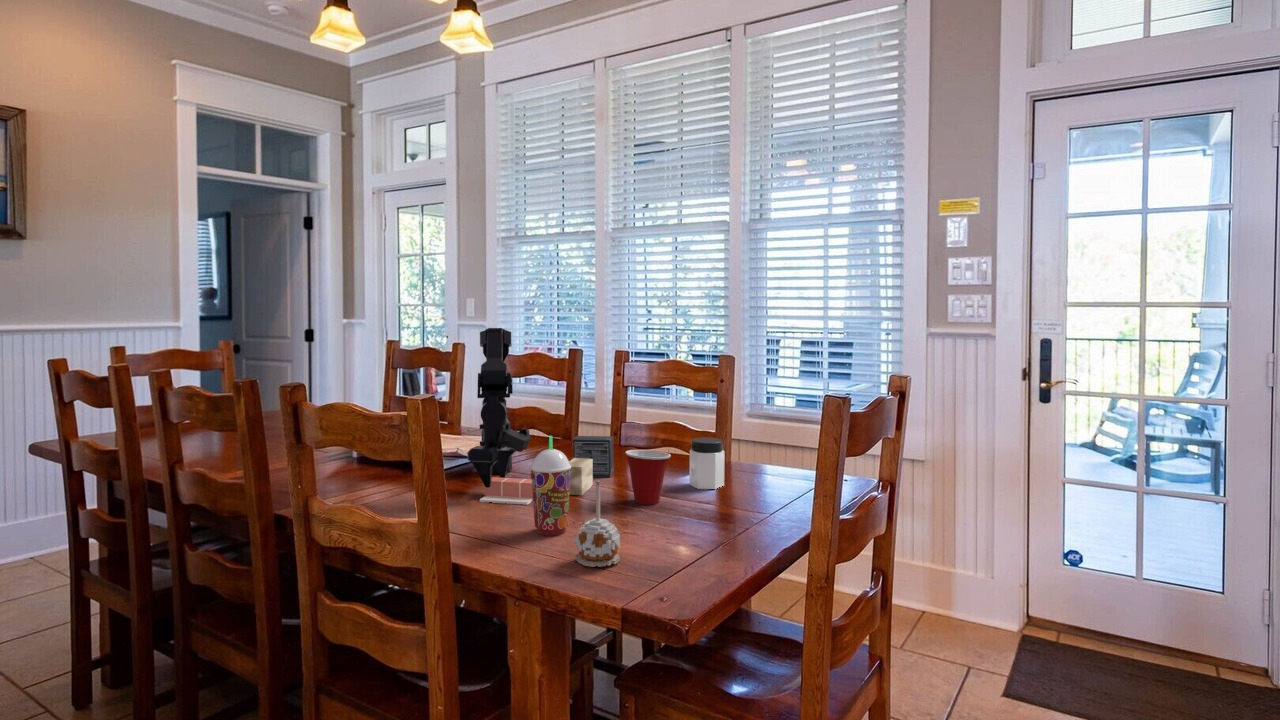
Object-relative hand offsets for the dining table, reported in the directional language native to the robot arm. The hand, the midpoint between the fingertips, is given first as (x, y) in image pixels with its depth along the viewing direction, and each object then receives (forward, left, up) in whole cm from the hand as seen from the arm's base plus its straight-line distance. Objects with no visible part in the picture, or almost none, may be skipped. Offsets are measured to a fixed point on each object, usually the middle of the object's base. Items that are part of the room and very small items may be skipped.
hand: (495, 482), depth 178 cm
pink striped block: (+5, 0, -3) cm, 6 cm away
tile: (+5, 0, -3) cm, 6 cm away
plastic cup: (+38, +3, -4) cm, 38 cm away
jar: (+50, +21, -4) cm, 54 cm away
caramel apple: (+37, -39, -4) cm, 54 cm away
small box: (+18, +27, -4) cm, 32 cm away
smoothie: (+23, -24, -4) cm, 33 cm away
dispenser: (+15, +10, -3) cm, 18 cm away
